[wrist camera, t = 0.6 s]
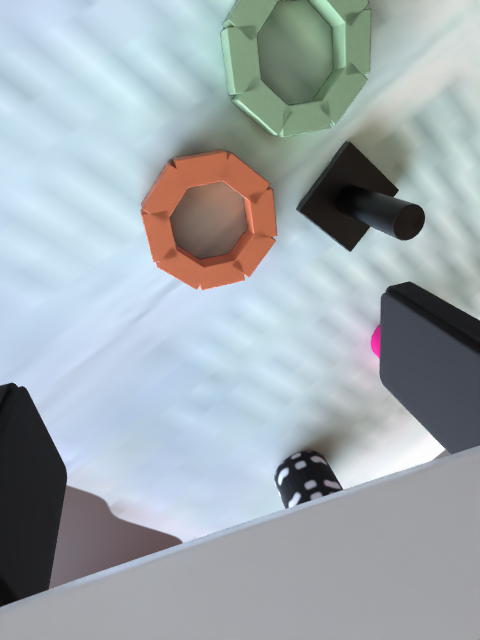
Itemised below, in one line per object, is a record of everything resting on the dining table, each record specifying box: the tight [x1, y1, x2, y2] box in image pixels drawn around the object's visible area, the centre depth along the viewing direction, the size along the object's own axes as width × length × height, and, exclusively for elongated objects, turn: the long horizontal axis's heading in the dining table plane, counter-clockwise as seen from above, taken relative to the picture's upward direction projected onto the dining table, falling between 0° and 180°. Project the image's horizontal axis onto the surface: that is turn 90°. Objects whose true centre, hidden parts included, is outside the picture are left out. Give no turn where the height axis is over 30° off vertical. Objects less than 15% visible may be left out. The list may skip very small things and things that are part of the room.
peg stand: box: [296, 142, 425, 252], centre depth 38 cm, size 8×8×11 cm
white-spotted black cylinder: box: [275, 451, 343, 509], centre depth 52 cm, size 8×8×20 cm
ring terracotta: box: [141, 150, 277, 290], centre depth 39 cm, size 12×12×2 cm
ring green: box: [220, 0, 371, 137], centre depth 34 cm, size 12×12×2 cm
